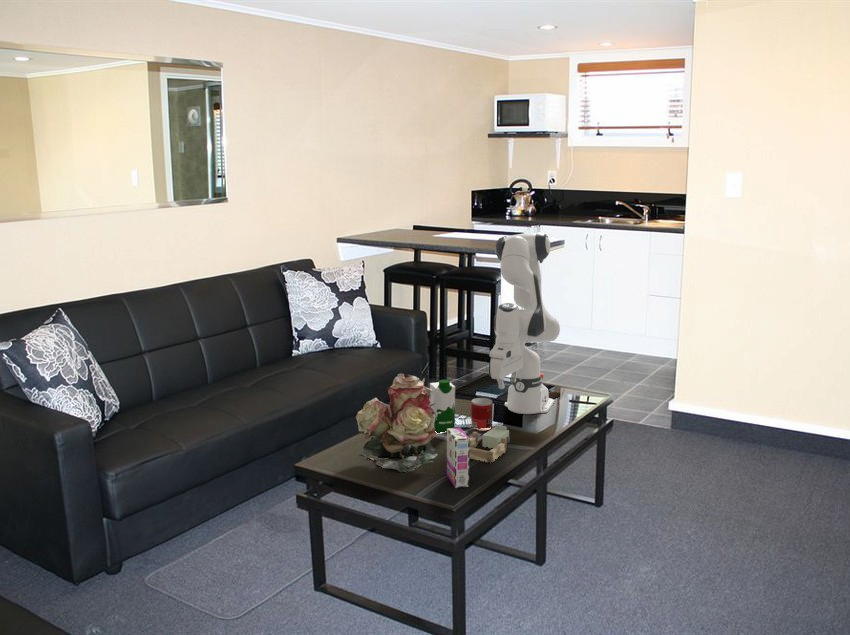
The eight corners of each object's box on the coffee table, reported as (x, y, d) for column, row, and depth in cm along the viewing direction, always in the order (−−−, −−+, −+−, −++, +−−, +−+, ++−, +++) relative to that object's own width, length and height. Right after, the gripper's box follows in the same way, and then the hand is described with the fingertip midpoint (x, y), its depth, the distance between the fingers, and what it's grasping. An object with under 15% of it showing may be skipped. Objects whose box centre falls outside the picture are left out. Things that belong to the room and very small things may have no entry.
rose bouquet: (347, 457, 284) (344, 374, 277) (414, 438, 301) (413, 360, 295) (390, 480, 264) (388, 392, 258) (459, 458, 281) (458, 375, 275)
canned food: (491, 432, 306) (491, 404, 304) (469, 431, 308) (469, 403, 305) (493, 425, 313) (493, 398, 311) (472, 424, 315) (472, 397, 312)
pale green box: (492, 438, 300) (492, 424, 299) (510, 442, 296) (510, 427, 295) (481, 446, 292) (481, 431, 291) (499, 450, 289) (499, 435, 287)
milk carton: (435, 435, 304) (435, 384, 299) (428, 427, 312) (427, 377, 308) (457, 432, 306) (457, 381, 302) (449, 424, 315) (449, 375, 310)
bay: (474, 444, 294) (474, 431, 293) (506, 451, 287) (506, 438, 286) (457, 455, 284) (457, 442, 283) (491, 463, 277) (491, 449, 276)
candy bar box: (470, 487, 258) (470, 438, 255) (455, 488, 257) (454, 440, 254) (460, 473, 269) (460, 426, 266) (446, 475, 268) (445, 427, 264)
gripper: (512, 341, 305) (512, 377, 308) (487, 353, 288) (486, 391, 291) (527, 343, 302) (527, 379, 305) (503, 355, 285) (502, 393, 288)
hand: (507, 385), depth 298 cm, fingers open, 8 cm apart
